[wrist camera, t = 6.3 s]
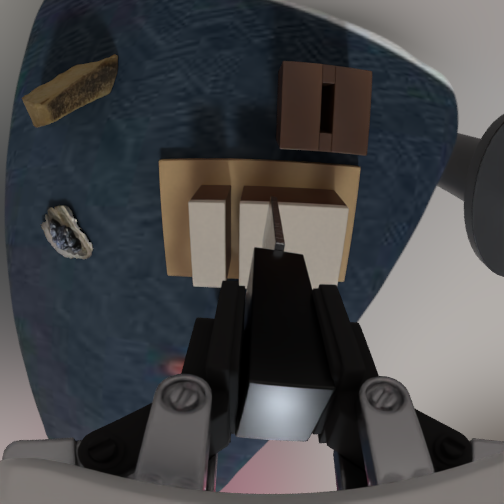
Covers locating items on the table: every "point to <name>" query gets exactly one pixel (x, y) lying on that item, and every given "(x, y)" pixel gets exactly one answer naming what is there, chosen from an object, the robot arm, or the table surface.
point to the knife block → (323, 108)
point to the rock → (71, 90)
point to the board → (239, 175)
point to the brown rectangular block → (210, 234)
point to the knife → (281, 345)
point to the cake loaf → (296, 228)
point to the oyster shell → (66, 233)
